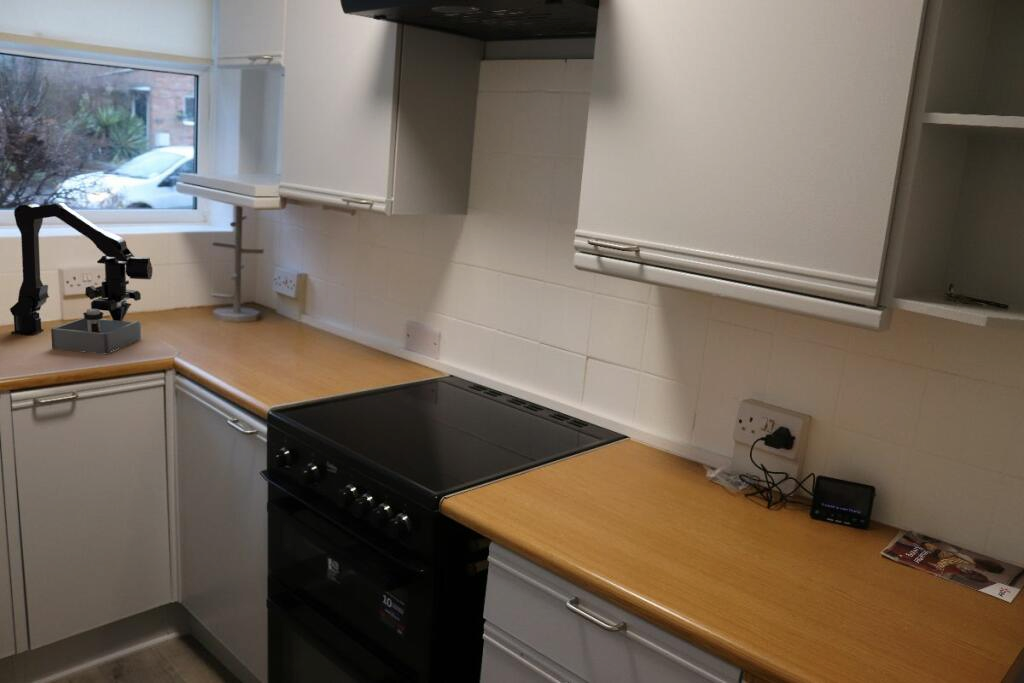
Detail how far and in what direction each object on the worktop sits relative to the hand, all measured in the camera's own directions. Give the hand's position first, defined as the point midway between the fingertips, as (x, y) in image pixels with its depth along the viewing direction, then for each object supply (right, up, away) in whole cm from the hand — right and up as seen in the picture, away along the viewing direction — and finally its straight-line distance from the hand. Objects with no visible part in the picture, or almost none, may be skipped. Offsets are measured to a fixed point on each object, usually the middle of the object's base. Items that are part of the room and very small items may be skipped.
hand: (117, 326), depth 255 cm
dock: (-1, -6, -10) cm, 12 cm away
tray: (-1, -5, -9) cm, 10 cm away
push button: (-1, -5, -13) cm, 14 cm away
